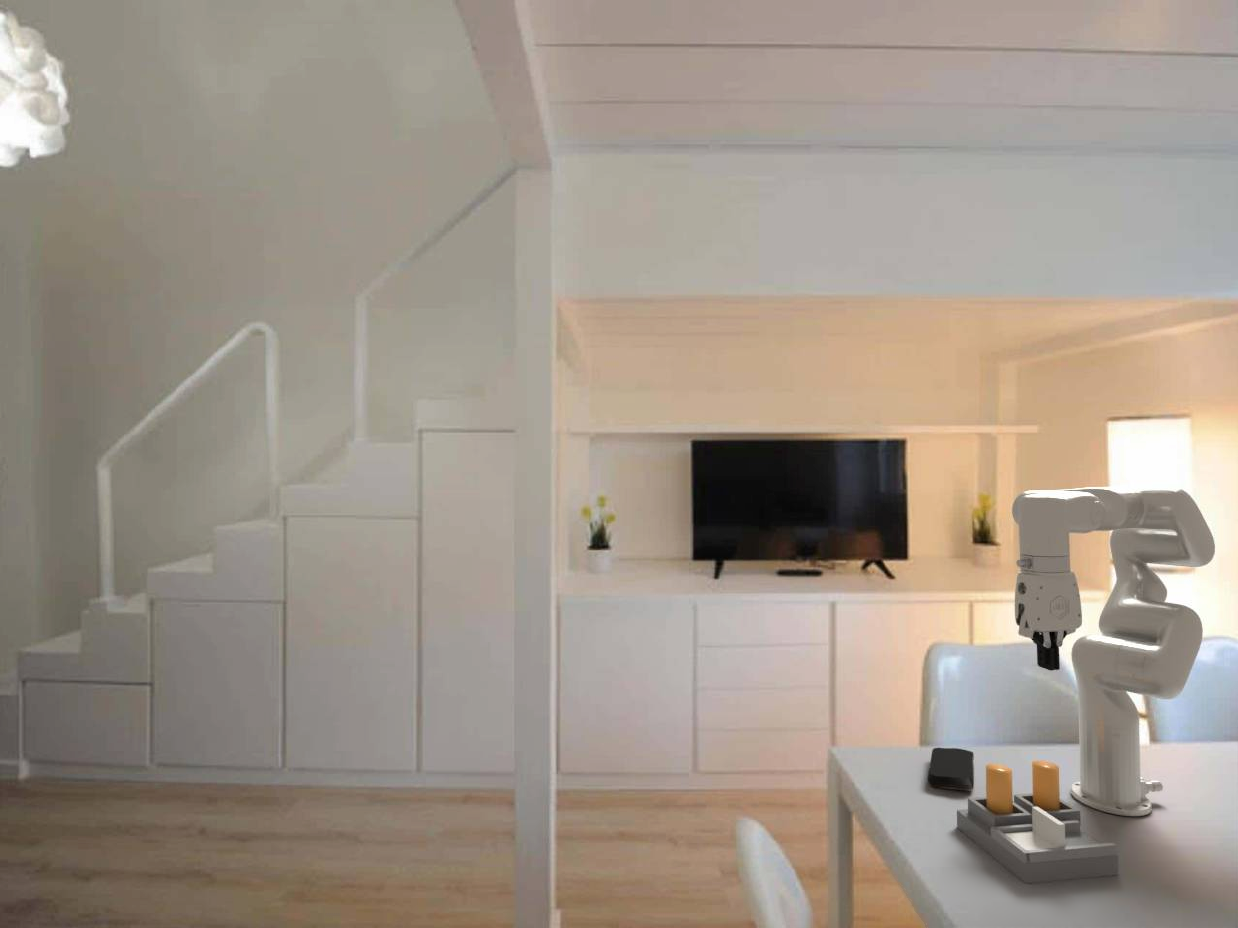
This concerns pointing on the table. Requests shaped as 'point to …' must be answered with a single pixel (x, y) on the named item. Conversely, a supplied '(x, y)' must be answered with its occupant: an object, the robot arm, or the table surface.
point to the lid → (1041, 832)
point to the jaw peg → (999, 789)
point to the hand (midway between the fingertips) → (1048, 667)
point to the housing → (1039, 864)
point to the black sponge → (951, 769)
